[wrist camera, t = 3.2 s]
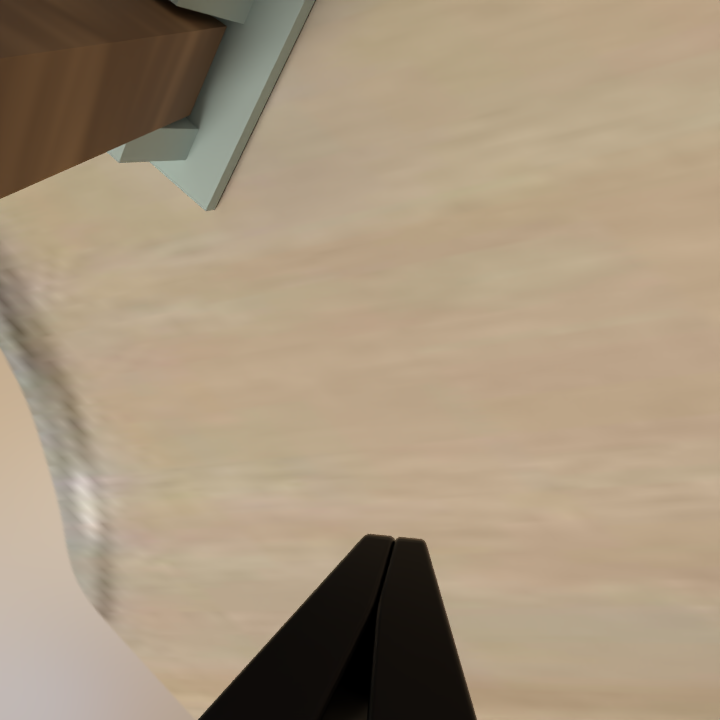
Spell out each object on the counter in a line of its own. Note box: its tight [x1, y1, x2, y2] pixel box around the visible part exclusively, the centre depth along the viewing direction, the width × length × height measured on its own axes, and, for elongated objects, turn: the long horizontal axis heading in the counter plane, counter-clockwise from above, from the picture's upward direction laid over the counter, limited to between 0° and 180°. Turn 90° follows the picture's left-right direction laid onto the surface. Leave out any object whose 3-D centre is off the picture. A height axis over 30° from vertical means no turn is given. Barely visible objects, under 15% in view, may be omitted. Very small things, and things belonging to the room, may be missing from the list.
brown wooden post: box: [0, 0, 227, 199], centre depth 13 cm, size 2×3×14 cm
